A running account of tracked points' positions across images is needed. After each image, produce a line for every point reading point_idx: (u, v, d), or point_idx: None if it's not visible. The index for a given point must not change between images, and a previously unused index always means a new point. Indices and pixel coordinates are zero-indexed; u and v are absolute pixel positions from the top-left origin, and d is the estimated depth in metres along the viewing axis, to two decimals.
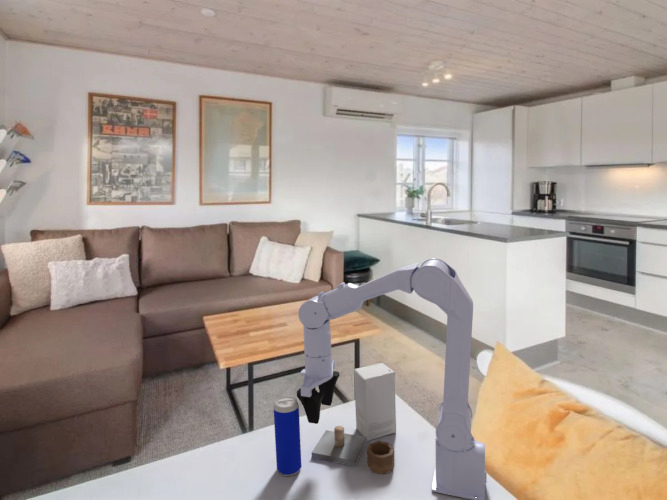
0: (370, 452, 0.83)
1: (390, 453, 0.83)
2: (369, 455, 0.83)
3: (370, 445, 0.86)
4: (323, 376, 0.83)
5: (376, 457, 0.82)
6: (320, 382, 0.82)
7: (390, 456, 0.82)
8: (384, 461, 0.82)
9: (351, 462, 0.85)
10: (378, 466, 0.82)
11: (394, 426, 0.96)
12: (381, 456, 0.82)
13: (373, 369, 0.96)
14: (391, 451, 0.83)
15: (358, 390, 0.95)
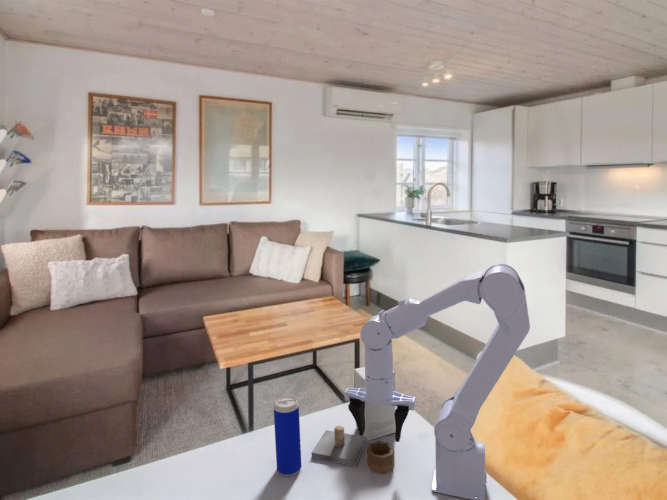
0: (370, 452, 0.83)
1: (390, 453, 0.83)
2: (369, 455, 0.83)
3: (370, 445, 0.86)
4: (367, 396, 0.82)
5: (376, 457, 0.82)
6: (359, 397, 0.82)
7: (390, 456, 0.82)
8: (384, 461, 0.82)
9: (351, 462, 0.85)
10: (378, 466, 0.82)
11: (394, 426, 0.96)
12: (381, 456, 0.82)
13: None
14: (391, 451, 0.83)
15: None
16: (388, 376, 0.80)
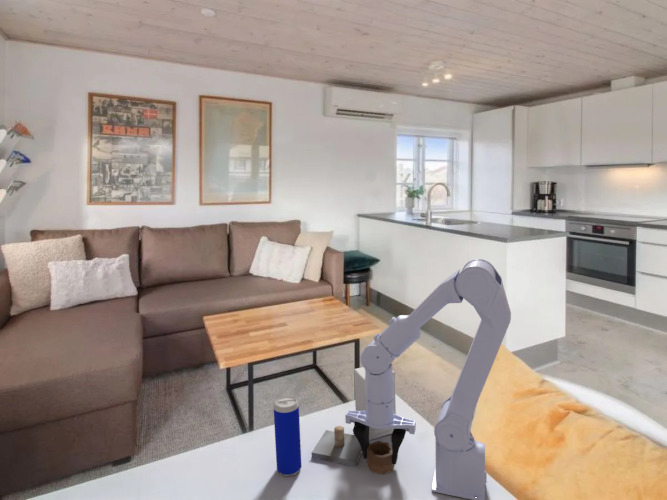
0: (370, 452, 0.83)
1: (390, 453, 0.83)
2: (369, 455, 0.83)
3: (370, 445, 0.86)
4: (367, 419, 0.82)
5: (376, 457, 0.82)
6: (360, 420, 0.83)
7: (390, 456, 0.82)
8: (384, 461, 0.82)
9: (351, 462, 0.85)
10: (378, 466, 0.82)
11: None
12: (381, 456, 0.82)
13: None
14: (391, 451, 0.83)
15: (358, 390, 0.95)
16: (388, 400, 0.81)
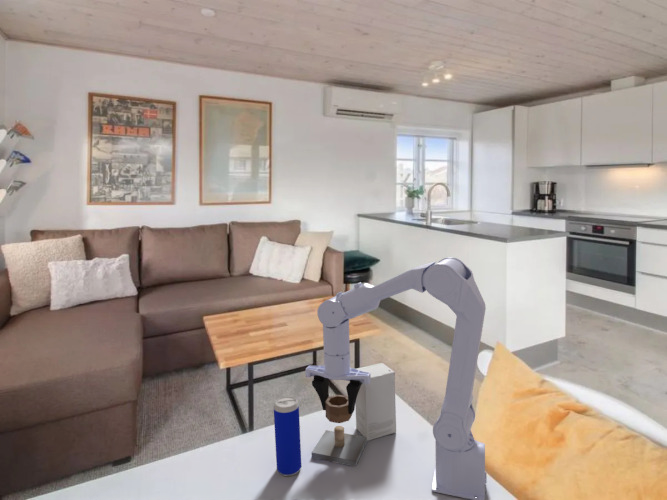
0: (328, 403, 0.88)
1: (347, 404, 0.88)
2: (327, 406, 0.88)
3: (329, 398, 0.91)
4: (325, 371, 0.87)
5: (333, 407, 0.87)
6: (318, 373, 0.88)
7: (346, 406, 0.87)
8: (340, 411, 0.86)
9: (351, 462, 0.85)
10: (335, 416, 0.87)
11: (394, 426, 0.96)
12: (338, 406, 0.87)
13: (373, 369, 0.96)
14: None
15: None
16: (343, 353, 0.85)
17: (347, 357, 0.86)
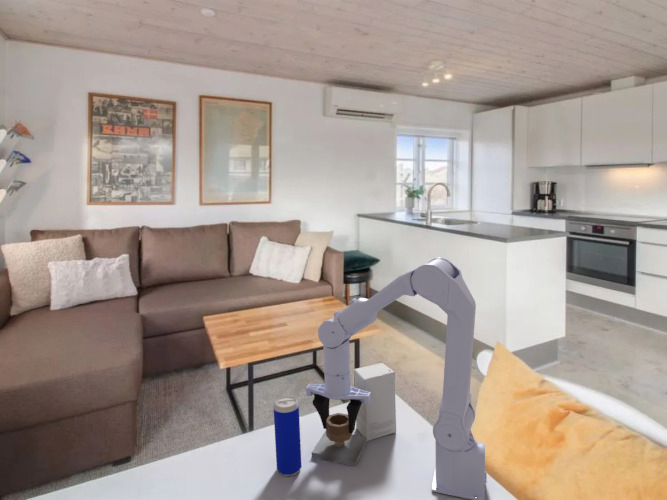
0: (328, 422, 0.89)
1: (347, 423, 0.88)
2: (327, 425, 0.89)
3: (329, 416, 0.91)
4: (326, 391, 0.88)
5: (333, 426, 0.87)
6: (319, 392, 0.88)
7: (347, 426, 0.88)
8: (340, 430, 0.87)
9: (351, 462, 0.85)
10: (335, 435, 0.87)
11: (394, 426, 0.96)
12: (338, 425, 0.87)
13: (373, 369, 0.96)
14: (348, 421, 0.89)
15: None
16: (344, 373, 0.86)
17: (347, 377, 0.87)
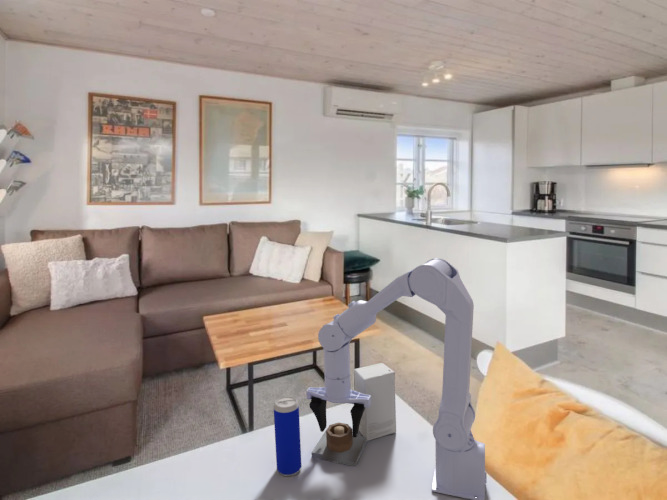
0: (329, 432, 0.89)
1: (347, 433, 0.88)
2: (328, 435, 0.89)
3: (330, 426, 0.91)
4: (326, 394, 0.88)
5: (334, 436, 0.88)
6: (319, 396, 0.89)
7: (347, 436, 0.88)
8: (341, 441, 0.87)
9: (351, 462, 0.85)
10: (336, 445, 0.88)
11: (394, 426, 0.96)
12: (338, 436, 0.87)
13: (373, 369, 0.96)
14: (349, 431, 0.89)
15: (358, 390, 0.95)
16: (344, 376, 0.86)
17: (347, 380, 0.87)
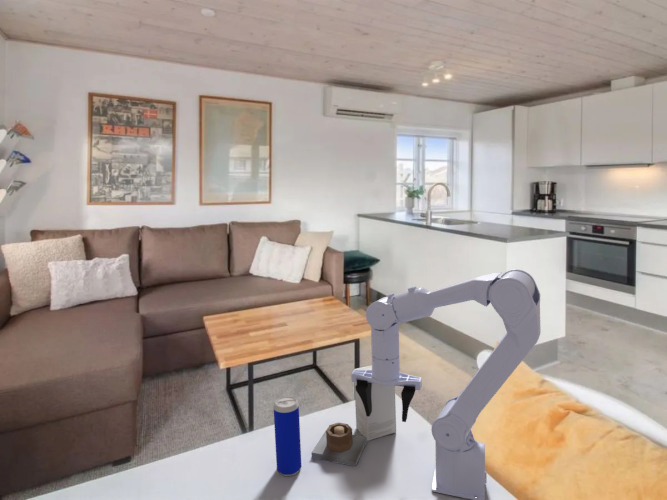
0: (329, 432, 0.89)
1: (347, 433, 0.88)
2: (328, 435, 0.89)
3: (330, 426, 0.91)
4: (373, 376, 0.83)
5: (334, 436, 0.88)
6: (366, 378, 0.84)
7: (347, 436, 0.88)
8: (341, 441, 0.87)
9: (351, 462, 0.85)
10: (336, 445, 0.88)
11: (394, 426, 0.96)
12: (338, 436, 0.87)
13: None
14: (349, 431, 0.89)
15: None
16: (393, 357, 0.81)
17: (397, 361, 0.82)
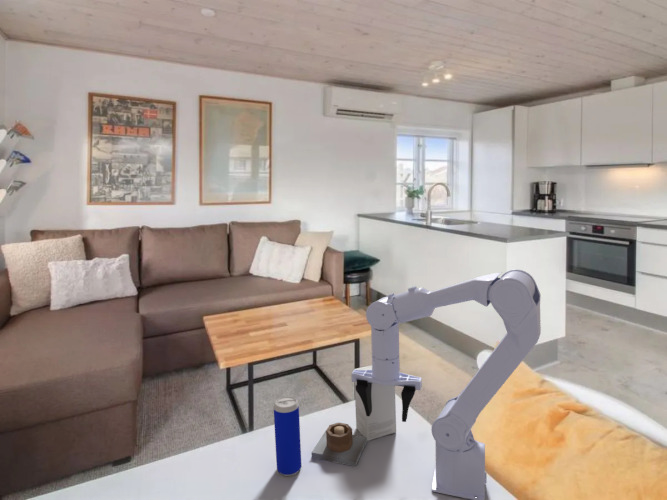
0: (329, 432, 0.89)
1: (347, 433, 0.88)
2: (328, 435, 0.89)
3: (330, 426, 0.91)
4: (373, 376, 0.83)
5: (334, 436, 0.88)
6: (366, 378, 0.84)
7: (347, 436, 0.88)
8: (341, 441, 0.87)
9: (351, 462, 0.85)
10: (336, 445, 0.88)
11: (394, 426, 0.96)
12: (338, 436, 0.87)
13: None
14: (349, 431, 0.89)
15: None
16: (393, 357, 0.81)
17: (397, 361, 0.82)
